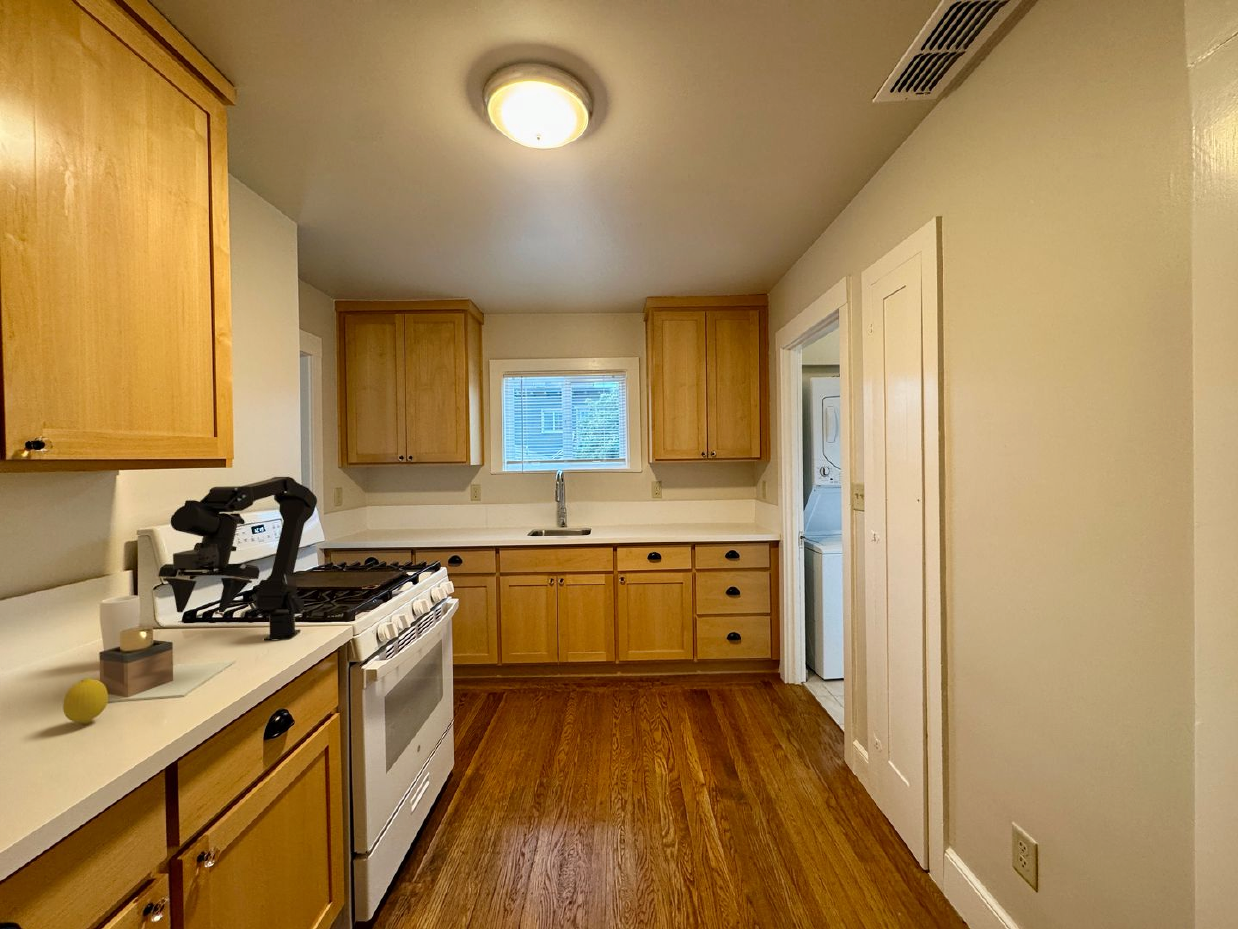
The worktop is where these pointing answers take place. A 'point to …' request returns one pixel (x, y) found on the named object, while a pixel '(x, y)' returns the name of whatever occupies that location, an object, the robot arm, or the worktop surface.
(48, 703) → the worktop surface
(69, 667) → the worktop surface
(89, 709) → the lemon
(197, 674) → the mat
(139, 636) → the peg
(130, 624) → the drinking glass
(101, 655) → the wooden box
